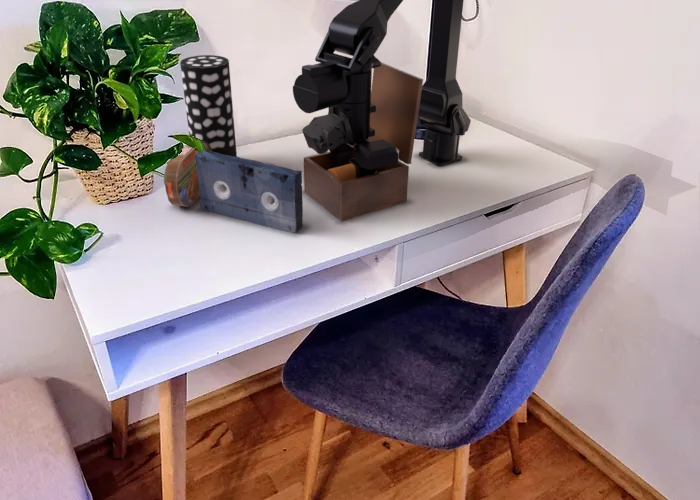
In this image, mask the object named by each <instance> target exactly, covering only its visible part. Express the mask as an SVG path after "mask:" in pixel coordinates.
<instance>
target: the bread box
mask: <svg viewBox="0 0 700 500" xmlns="http://www.w3.org/2000/svg"><path fill="white" fill-rule="evenodd" d="M355 151H356V148H355V147H354V148H353V152H352V157H351V159H353V158H355ZM350 164H351V162H350ZM332 168H335V164H334V161H333V158H332V156H331V153H330V151H329V150H328V151H327V152H326V153H323V154H318V153H316V154H313V155H308V156H305V157H304V156H303V193H304V194H305V195H307V196H309V197H310V198H311V199H312V200H313V201H314V202H316V203H317V204H318V205H320V206H321V207H322V208H324V209H325V210H326V211H328V212H329V213H330V214H331V215H332V216H334V217H335V218H337V219H338V220H339V221H341V222H344V221H347V220H351V219H354V218H357V217H360V216H365V215H368V214H371V213H374V212H377V211H381V210H384V209H387V208H391V207H394V206H397V205H400V204H404V203H406V202H407V198H408V186H409V174H410V173H409V172H410V166H409V165H408V164H406V163H404V162H403V161H401V160H399V161H398V163H396V164H392V165H388V166H384V167H381V168H378V169H377V170H376V171H377V173H375V174H371V175H368V176H364V177H360V178H356V179H353V180H349V181H345V182H342V181H341V180H339V179H338V178H337V177H335V176H334V175H332V174H331V173H329V172H328V171H327V170H328V169H332Z"/></svg>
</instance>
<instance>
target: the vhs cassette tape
mask: <svg viewBox="0 0 700 500" xmlns="http://www.w3.org/2000/svg"><path fill="white" fill-rule="evenodd" d="M195 160H196V165H197V176H198V186H199V194H200V197H199V202H200V209H201V210H202V211H204V212H208V213H212V214H213V213H214V214H217V215H220V216H224V217H227V218H233V219H237V220H240V221H245V222H249V223H251V224H255V225H259V226H263V227H264V226H265V227H268V228H272V229H276V230H279V231H284V232H287V233H291V234H296V233H297V232H299V230H301V229H302V227H303V226H304V223H303V222H304V210H303V208H304V206H303V203H304V201H303V185H302V184H303V173H302V172H303V171H302V170H297V169H292V168H289V167H285V166H279V165H276V164H271V163H265V162H261V161H258V160H253V159H249V158H242V157H239V156H237V157H235V156H229V155H223V154H219V153H216V152H212V151H207V150H203V151H200V152H198V153H197V154H196V155H195Z"/></svg>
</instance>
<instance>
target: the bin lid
mask: <svg viewBox="0 0 700 500" xmlns="http://www.w3.org/2000/svg"><path fill="white" fill-rule="evenodd" d="M380 62H381V66H380V67H376V68H373V70H372V80H371V103H372V104H374V105H376V112H372V113H370V127H371V128H372V129H374V130H375V136H372V137H368V141H370V142H373V141H377V140H381V139H383V140H385V141H387V142H388V143H390V144H392V145H394V146H395V147H396V148H397V149H398V150H399V161H400V162H402V163H404V164H405V165H411V164H412V158H413V151H414V145H415V138H416V130H417V124H418V111H419V104H420V97H421V91H422V86H423V84H424V83H423V82H424V78H420V77H418V76H416V75H414V74H412V73H409V72H406V71H404V70H402V69H399V68H396V67H394V66H391V65H390V64H386V63H384V62H382V61H380Z"/></svg>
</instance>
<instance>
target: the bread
mask: <svg viewBox="0 0 700 500" xmlns="http://www.w3.org/2000/svg"><path fill="white" fill-rule="evenodd" d="M327 171H328V172H329V173H331V174H332V175H334V176H335V177H337V178H338V179H339V180H341V181H342V182H345V181H349V180H353V179H356V171H355V166H354V165H353V164H352V163H351V164H347V165H343V166H339V167H336V168H332V169H328V170H327ZM375 173H377V171H376V172H375Z"/></svg>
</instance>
